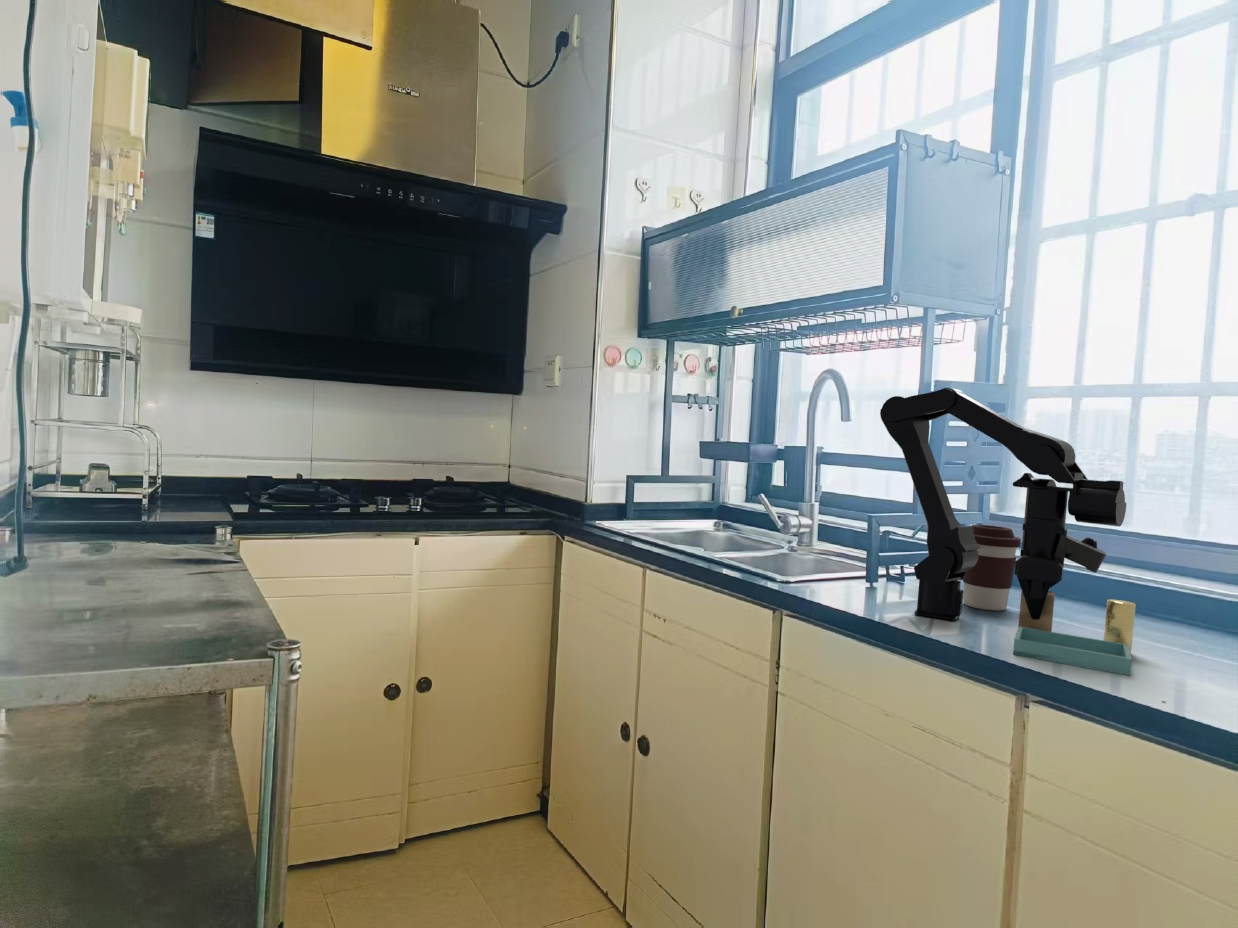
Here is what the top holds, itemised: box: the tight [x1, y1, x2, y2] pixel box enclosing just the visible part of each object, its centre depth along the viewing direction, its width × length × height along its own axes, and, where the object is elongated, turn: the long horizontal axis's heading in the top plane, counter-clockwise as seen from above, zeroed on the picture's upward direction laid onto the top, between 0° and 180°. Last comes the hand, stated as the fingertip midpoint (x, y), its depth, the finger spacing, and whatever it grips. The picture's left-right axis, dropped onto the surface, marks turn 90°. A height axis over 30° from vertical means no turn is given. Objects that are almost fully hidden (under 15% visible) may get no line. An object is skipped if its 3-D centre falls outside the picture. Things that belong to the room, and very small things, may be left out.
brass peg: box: [1103, 599, 1137, 655], centre depth 116 cm, size 4×4×8 cm
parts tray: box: [1012, 627, 1133, 676], centre depth 111 cm, size 14×10×2 cm
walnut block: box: [1017, 590, 1056, 632], centre depth 123 cm, size 4×4×7 cm
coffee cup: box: [962, 524, 1022, 612], centre depth 145 cm, size 10×10×15 cm
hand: (1036, 616), depth 123 cm, fingers closed on walnut block, 4 cm apart
